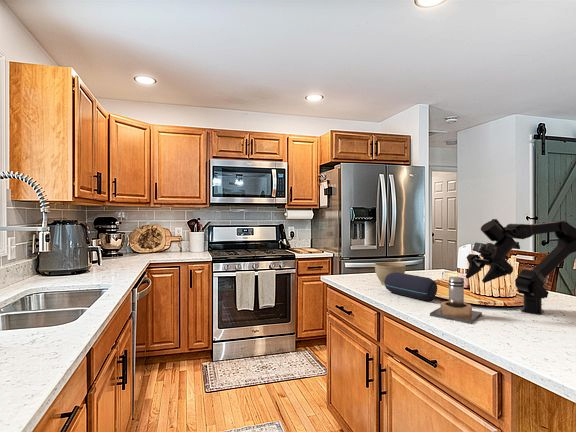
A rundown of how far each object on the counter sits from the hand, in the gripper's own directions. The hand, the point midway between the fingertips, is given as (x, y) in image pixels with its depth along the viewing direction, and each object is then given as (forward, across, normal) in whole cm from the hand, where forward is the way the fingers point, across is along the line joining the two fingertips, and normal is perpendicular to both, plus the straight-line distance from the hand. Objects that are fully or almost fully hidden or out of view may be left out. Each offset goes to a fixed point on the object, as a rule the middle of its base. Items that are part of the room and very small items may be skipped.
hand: (474, 279), depth 130 cm
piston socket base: (+15, 0, +4) cm, 15 cm away
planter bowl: (+14, -58, +3) cm, 60 cm away
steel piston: (+14, 0, +3) cm, 14 cm away
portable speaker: (+16, -31, +2) cm, 35 cm away
